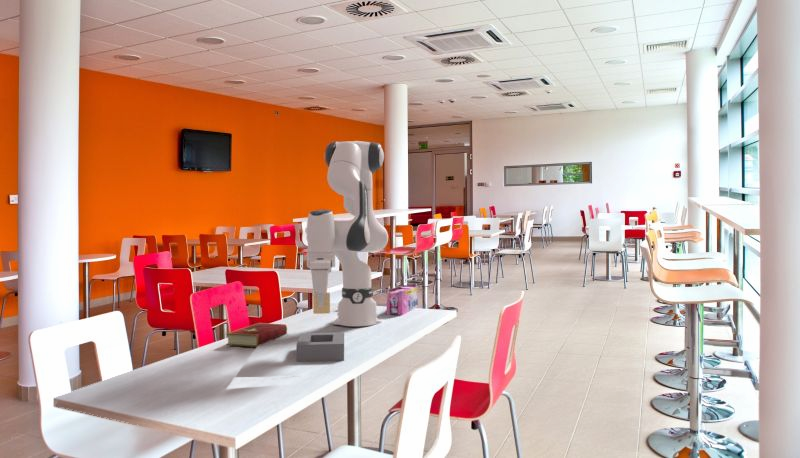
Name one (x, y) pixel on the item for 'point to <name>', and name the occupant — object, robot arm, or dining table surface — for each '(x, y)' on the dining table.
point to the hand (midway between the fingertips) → (321, 305)
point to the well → (320, 347)
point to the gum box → (402, 299)
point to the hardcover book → (256, 334)
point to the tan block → (321, 309)
